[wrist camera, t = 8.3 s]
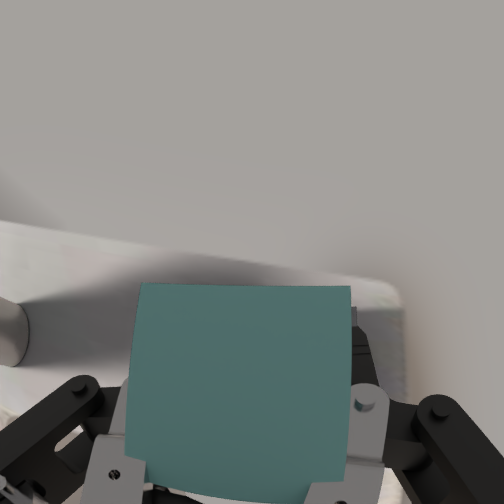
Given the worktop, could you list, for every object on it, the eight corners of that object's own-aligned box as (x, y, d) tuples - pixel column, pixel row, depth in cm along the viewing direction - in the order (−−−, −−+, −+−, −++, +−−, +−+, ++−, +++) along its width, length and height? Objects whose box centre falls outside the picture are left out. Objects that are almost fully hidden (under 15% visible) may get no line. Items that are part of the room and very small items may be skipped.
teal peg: (231, 421, 13) (124, 474, 4) (236, 344, 15) (141, 282, 6) (313, 425, 13) (340, 503, 4) (316, 346, 14) (350, 285, 5)
